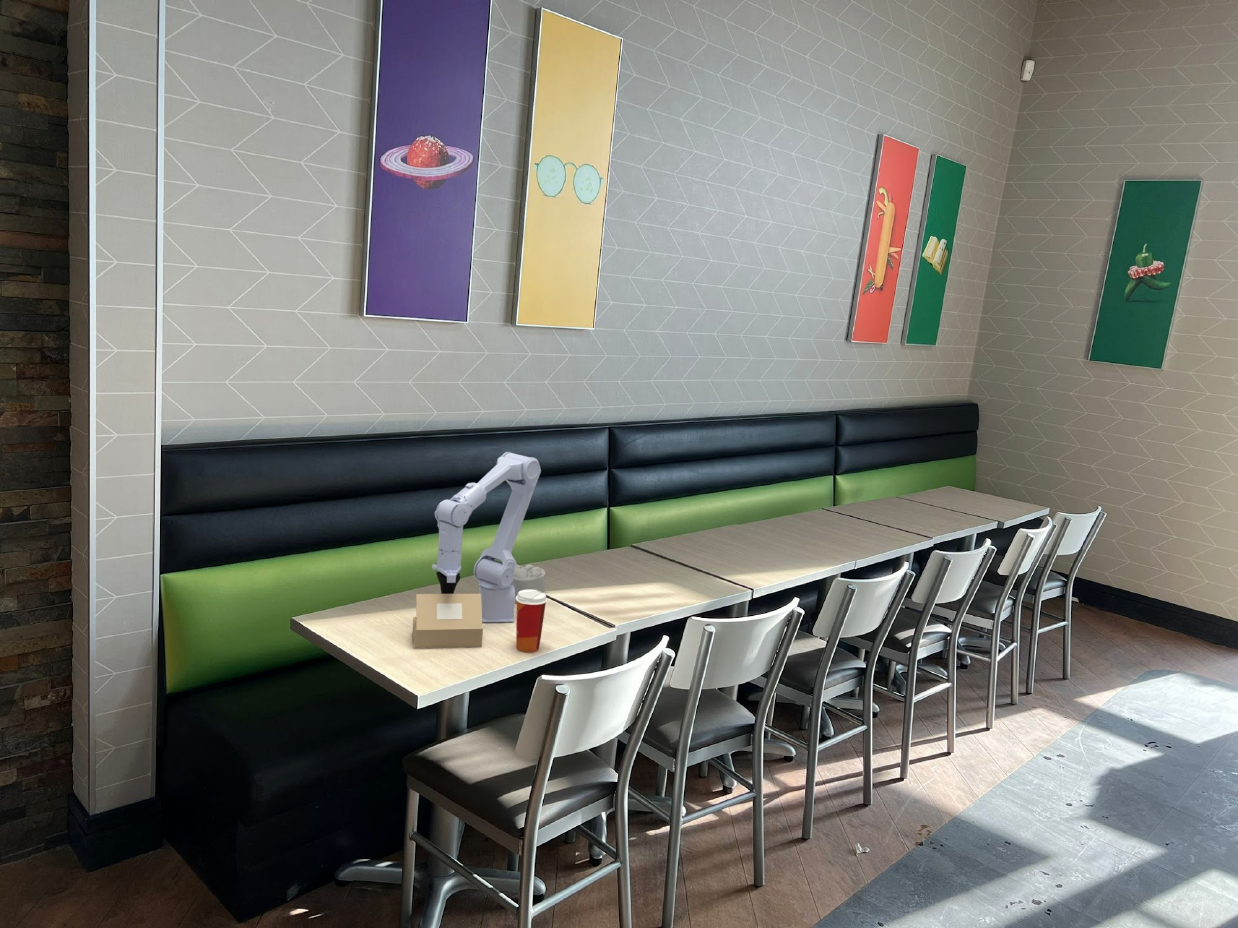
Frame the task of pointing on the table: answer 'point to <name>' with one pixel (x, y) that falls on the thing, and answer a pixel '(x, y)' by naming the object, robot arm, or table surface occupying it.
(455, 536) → the robot arm
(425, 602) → the lid flap
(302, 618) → the table surface
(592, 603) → the table surface
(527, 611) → the paper cup
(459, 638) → the kraft box
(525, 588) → the clear tub of eggs
